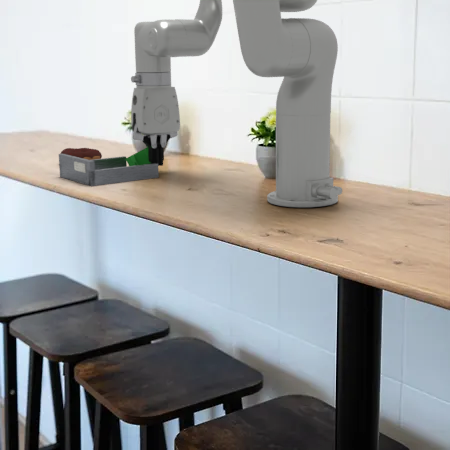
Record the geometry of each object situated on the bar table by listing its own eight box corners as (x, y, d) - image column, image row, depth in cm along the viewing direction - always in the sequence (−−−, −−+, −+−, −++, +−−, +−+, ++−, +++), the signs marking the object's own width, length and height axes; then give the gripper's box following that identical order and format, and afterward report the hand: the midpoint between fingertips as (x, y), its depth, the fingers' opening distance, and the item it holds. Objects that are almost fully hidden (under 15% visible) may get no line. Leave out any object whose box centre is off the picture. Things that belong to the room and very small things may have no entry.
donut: (106, 166, 185) (105, 149, 184) (65, 169, 181) (64, 152, 180) (97, 160, 194) (96, 145, 193) (57, 163, 190) (56, 147, 189)
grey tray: (158, 177, 166) (157, 154, 165) (90, 186, 157) (88, 161, 156) (124, 169, 178) (123, 147, 177) (59, 176, 169) (57, 154, 168)
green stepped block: (149, 169, 168) (139, 151, 167) (135, 177, 169) (125, 158, 168) (161, 161, 179) (151, 144, 178) (147, 169, 180) (137, 151, 179)
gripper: (131, 82, 160) (135, 170, 164) (192, 80, 168) (194, 163, 172) (114, 81, 166) (118, 166, 170) (173, 79, 174) (176, 160, 178)
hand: (156, 165), depth 171 cm, fingers closed
